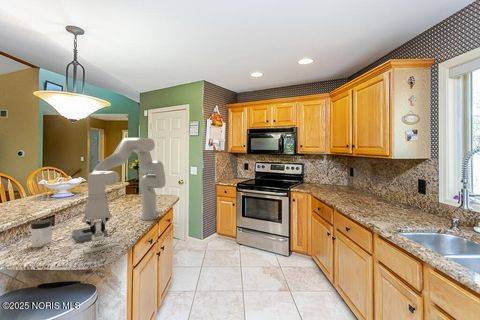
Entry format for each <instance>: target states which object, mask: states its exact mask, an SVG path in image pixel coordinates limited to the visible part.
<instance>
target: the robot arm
mask: <svg viewBox="0 0 480 320" xmlns="http://www.w3.org/2000/svg"><path fill="white" fill-rule="evenodd" d="M155 145H156V143H155V141H154V140H153V139H152V138H151V137H148V138H146V137H125V138H122V139H121V140H120V142H119V144H118V145H117V147H116V148H115V150H114V151H113V152H112V154H111V155H108V156H107V157H106V158H103V160H101V161H99V163H97V164H96V165H95V167H94V169H93V170H92V172H89V173H88V174H87V193H88V194H87V195H88V196H87V197H88V198H87V200H86V199H85V200H86V201H85V206H84V207H85V208H84V216H83V218H82V219H81V222H82V223H84V224H87V225H88V226H89V227H90V232H92V234H95V226H94V222H95V221H97V220H100V221H102V232H104V230H105V229H106V224H107V222H109V220H110V219H111V218H112V217H113V215H112V213H111V212H110V207H109V200H108V198H107V197H108V196H109V195H110V194H109V192H108V193H107V192H106V191H107V190H106V186H113V185H116V184H118V183H119V181H120V178H121V176H120V174H119V172H117V171H115V170H111V169H113V168H116V167H119V166H122V165H124V164H126V163H127V162H128V160H129V158H130V156H131V155H132V153H136V155H137V158H138V164H139V169H140V172H141V173H142V174H144V175H142V176H141V177H140V180H139V184H140V187H141V189H140V190H141V209H142V210H141V211H142V214H141V216H140V217H139V219H140V221H141V220H142V221H153V220H156V219H158V218H159V215H161V214H163V213H164V212H163V210H157V194H156V193H157V192H156V190H155V189H163V188H164V187H165V186H166V183H167V181H166V174H165V167H164V164H163V162H162V161H161V160H153V158H152V153H151V152H152V151H153V150H154V149H155Z"/></svg>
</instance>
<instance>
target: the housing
mask: <svg viewBox="0 0 480 320" xmlns="http://www.w3.org/2000/svg"><path fill="white" fill-rule="evenodd" d="M71 233H72V237H73V239H74V240H75V241H76V242H77V244H79V243H83V242H86V241H87V242H88V241H92V235H94V234H92V232H90V226H88V227H85V228H84V227H83V228H79V229H74V230H72V231H71ZM102 233H103V234H104V238H105V237H108V230H107V229H106V228H105V230H104V232H102Z"/></svg>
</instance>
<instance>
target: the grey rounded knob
mask: <svg viewBox="0 0 480 320" xmlns="http://www.w3.org/2000/svg"><path fill="white" fill-rule="evenodd" d="M94 226H95V234H94V235H92V240H91V242H99V241H103V240H105V237H104V234H103V233H102V220H94Z"/></svg>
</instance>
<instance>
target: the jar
mask: <svg viewBox="0 0 480 320" xmlns="http://www.w3.org/2000/svg"><path fill="white" fill-rule="evenodd" d="M30 228H31V247H32V248H43V247H44V245H46V244H50V243H52V242H53V228H52V219H39V220H36V221H33V222H31V224H30Z"/></svg>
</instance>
